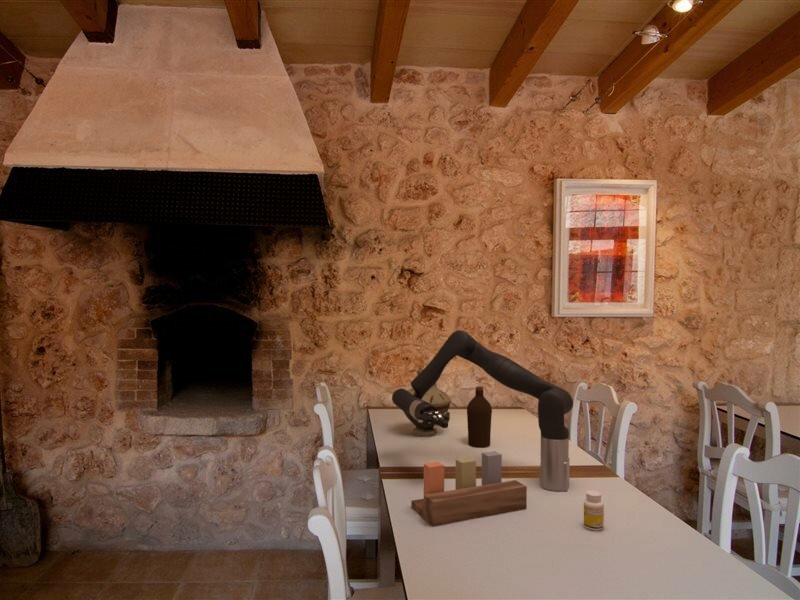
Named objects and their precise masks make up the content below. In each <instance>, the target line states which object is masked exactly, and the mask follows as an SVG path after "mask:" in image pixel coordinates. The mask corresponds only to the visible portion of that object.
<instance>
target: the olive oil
mask: <svg viewBox="0 0 800 600" xmlns="http://www.w3.org/2000/svg"><path fill="white" fill-rule="evenodd" d="M474 394H475V395H474V397H473V398H472V399H471V400H470V401H469V402H468V403H467V406H466V418H467V419H466V420H467V445H468V446H469V447H472V448H476V449H477V448H479V449H480V448H482V449H483V448H487V447H490V446H491V433H492V432H491V429H492V428H491V427H492V415H493V414H492V413H493V409H492V405H491V403H490V402H489V401H488V399H487V398H486V396H484V387H483V386H475V392H474Z"/></svg>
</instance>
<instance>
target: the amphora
mask: <svg viewBox="0 0 800 600" xmlns="http://www.w3.org/2000/svg"><path fill="white" fill-rule="evenodd" d="M423 369H424V368H422V369H421V368H420V369H418V370H417V371H416V376H417V375H418V374H419V373H420V372H421V371H422V370H423ZM406 390H407V391H408V392H410V393H411V394H412V395H414V393H415V391H414V389H413V388H412V387H410V388H409V389H406ZM422 400H424V401H426V402H428V403H430V404H432V405H433V406H435V407H436V408H437V410H438V412H442V414H445V413H446V412H449V408H450V405H451V397H450V396H449V394H448V393H446V392H444V391H443V390H441V389H440V388H439V387H438V385H437V382H436V383H435V384H434V385H433V386H432V387H431V388H430V389H429V390H428V391H427V392H426V393H425V395H424V396H423V398H422ZM402 412H403V414H404V415H405V416H406V418H407V420H409V421H410V423H412V425H414V426H415V427H414V428H413V429H412V434H413V435H414V434H415V435H414V436H417V435H418V437H423V436H428V437H434V436H436V434H437V430H436V428H435V426H436V425H434V426H427V425H419V424H418V420H416V419H415V418H414V417H413V416H411V415H410V414H408V413H405V412H404V411H403V410H402ZM433 435H434V436H433Z"/></svg>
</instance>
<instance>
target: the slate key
mask: <svg viewBox="0 0 800 600" xmlns="http://www.w3.org/2000/svg"><path fill="white" fill-rule="evenodd" d="M502 455H503V454H501V453H499V452H498V451H496V450H494V451H485V452H481V485H488V484H494V483H500V482H503V481H502V480H503V479H502V476H503V474H502V473H503V472H502V470H503V467H502V463H503V462H502V458H503V457H502Z"/></svg>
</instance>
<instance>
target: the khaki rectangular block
mask: <svg viewBox="0 0 800 600" xmlns="http://www.w3.org/2000/svg"><path fill="white" fill-rule="evenodd" d="M454 483H455V488H454V490H457V489H463V488H469V487H475V486H477V460H475V459H474V458H472V457H462V458H461V457H460V458H455V481H454Z"/></svg>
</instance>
